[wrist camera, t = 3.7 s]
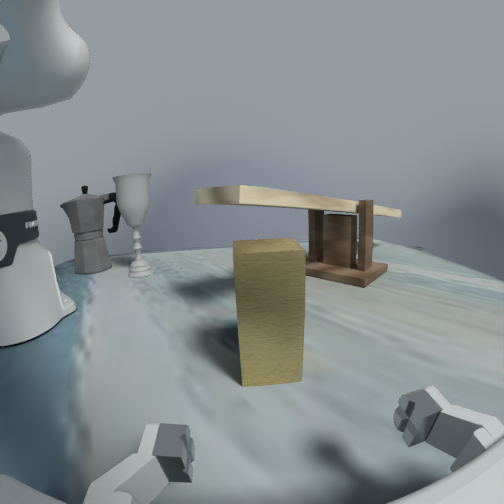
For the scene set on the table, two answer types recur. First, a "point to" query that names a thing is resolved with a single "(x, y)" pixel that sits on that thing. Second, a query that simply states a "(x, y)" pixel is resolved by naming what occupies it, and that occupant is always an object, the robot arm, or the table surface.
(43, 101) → the robot arm
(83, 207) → the coffeepot
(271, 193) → the balance beam
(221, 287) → the table surface
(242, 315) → the tall olive textured block
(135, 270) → the chalice
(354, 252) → the beam stand
